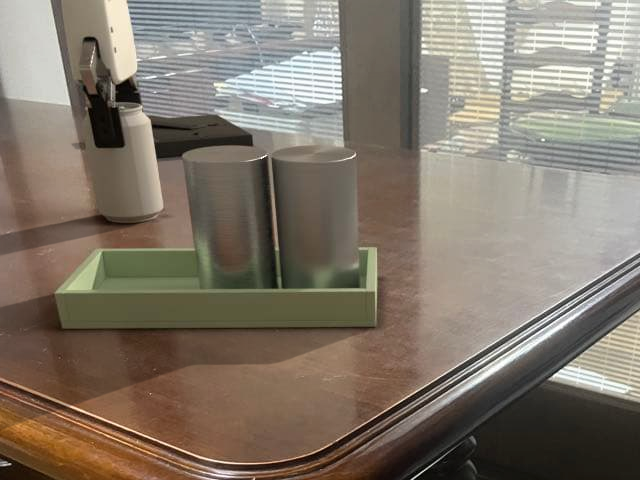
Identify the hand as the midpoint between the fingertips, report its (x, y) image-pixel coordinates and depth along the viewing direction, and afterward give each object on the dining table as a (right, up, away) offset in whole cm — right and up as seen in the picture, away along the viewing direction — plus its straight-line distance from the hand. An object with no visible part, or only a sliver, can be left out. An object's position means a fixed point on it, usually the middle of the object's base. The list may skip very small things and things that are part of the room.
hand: (121, 138), depth 99 cm
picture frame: (-3, +19, +43) cm, 47 cm away
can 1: (0, -7, +5) cm, 9 cm away
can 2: (+17, -24, -20) cm, 35 cm away
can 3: (+25, -23, -20) cm, 39 cm away
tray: (+16, -24, -20) cm, 35 cm away
